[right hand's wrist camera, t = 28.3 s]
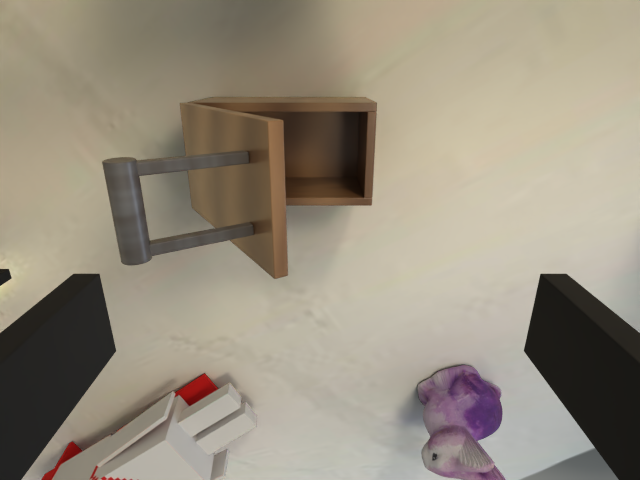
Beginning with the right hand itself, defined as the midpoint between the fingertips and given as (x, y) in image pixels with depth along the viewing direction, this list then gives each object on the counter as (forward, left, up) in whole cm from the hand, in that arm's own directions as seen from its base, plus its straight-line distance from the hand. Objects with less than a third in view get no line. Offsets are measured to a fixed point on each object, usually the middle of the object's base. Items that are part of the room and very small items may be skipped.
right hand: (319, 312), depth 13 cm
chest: (+1, -3, -35) cm, 35 cm away
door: (+2, -6, -19) cm, 20 cm away
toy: (+46, -8, -35) cm, 58 cm away
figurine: (+26, +28, -35) cm, 52 cm away
